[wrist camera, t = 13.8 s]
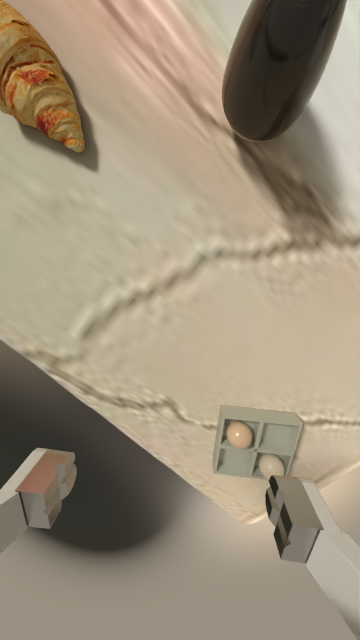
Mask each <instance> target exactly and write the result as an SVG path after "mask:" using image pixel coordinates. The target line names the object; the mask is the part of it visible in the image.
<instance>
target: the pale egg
mask: <svg viewBox="0 0 360 640" xmlns="http://www.w3.org/2000/svg"><path fill="white" fill-rule="evenodd" d="M259 470H260V472H261V474H262V475H263V477H264V478H265V479H267V480H268V481H269V479H270V476H272V475H278V476H284V466H283V463H282V461H281V460H280V459H279V458H278V457H277V456H276V455H274V454H269V453H266V454H264V455H262V456H261V457H260V459H259Z"/></svg>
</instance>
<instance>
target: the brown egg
mask: <svg viewBox="0 0 360 640" xmlns="http://www.w3.org/2000/svg"><path fill="white" fill-rule="evenodd" d="M226 435H227V439H228V441H229V443H230V444H231V445H232V446H233V447H234V448H236V449H246V448H247V447H248V446H249V445H250V444H251V442H252V433H251V430H250V428H249V427H248V426H247V425H246V424H245V423H243V422H241V421H235V422H232V423H231V424H230V425H229V426H228V428H227V432H226Z"/></svg>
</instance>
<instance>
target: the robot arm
mask: <svg viewBox="0 0 360 640" xmlns="http://www.w3.org/2000/svg"><path fill="white" fill-rule="evenodd" d="M74 460H75V455H74V453H72V452H64V451H57V450H50V449H43V448H37V449H36V450H34V451H33V452H32V453H31V454H30V455H29V457H28V458H27V459H26V460H25V462H24V463H23V464H22V465H21V466H20V468H19V469H18V470H17V471H16V472H15V473H14V475H13V476H12V477H11V478H10V479H9V480H8V482H7V483H6V484H5V485H4V486H3V488H2V489H1V490H0V553H1V552H3V551H4V550H5V549H6V548H7V547H8V546H9V545H10V544H11V543H12V542H13V541H14V540H15V539H16V538H17V537H18V536H20V535H21V534H22V533H23V532H24V531H25V530H26V529H27V526H29V527H39V528H51V526H52V524H53V522H54V520H55V519H56V517H57V515H58V513H59V511H60V509H61V508H62V504H61V500H62V499H63V498H64V497H66V496H67V495H68V494H69V492H70V490H71V489H72V486H73V484H74V481H75V478H76V466H75V465H74V464H73V461H74ZM269 483H270V487H269V488H268V489H267V490H266V495H265V498H266V508H267V513H268V517H269V519H270V520H271V522H272V523H273V525H274V526H275V527H276V528H275V531H274V538H275V541H276V544H277V548H278V551H279V555H280V558H281V559H282V560H288V561H294V562H300V563H306V566H307V568H308V569H309V570H310V572H311V573H312V575H313V576H314V578H315V579H316V581H317V582H318V583H319V585H320V586H321V588H322V589H323V591H324V592H325V593H326V595H327V596H328V598H329V599H330V600H331V602H332V604H333V605H334V606H335V608H336V609H337V611H338V612H339V613H340V615H341V616H342V618H343V619H344V621H345V622H346V624H347V625H348V626H349V628H350V629H351V631H352V632H353V634H354V635H355V637H356V638H357V639H358V640H360V547H359V546H358V545H357V544H356V543H355V542H354V541H353V540H352V539H351V538H350V537H349V536H348V535H347V534H346V533H343V532H341V531H340V529H339V527H338V525H337V524H336V522H335V520H334V518H333V516H332V514H331V513H330V511H329V509H328V507H327V505H326V503H325V502H324V500H323V498H322V496H321V494H320V492H319V490H318V488H317V487H316V485H315V483H314V482H313V481H312V480H311V479H304V478H297V477H288V476H278V475H272V476H270V479H269Z"/></svg>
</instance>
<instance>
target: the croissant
mask: <svg viewBox="0 0 360 640" xmlns="http://www.w3.org/2000/svg"><path fill="white" fill-rule="evenodd" d="M0 110H1V111H2V112H4V113H6V114H10V115H13V116H14V117H15V118H16V119H18V120H19V121H20V122H21V123H22V124H23V125H30V126H32V127H34V128H38V129H39V130H41V131H42V132H43V133H44V134H45V135H47V136H48V137H49V138H52V139H55V140H57V141H62V142H63V144H64V145H65V146H66V147H68V148H70V149H72V150H74V151H75V152H82V151H84V147H85V141H84V134H83V132H82V128H81V119H80V115H79V112H78V110H77V106H76V101H75V99H74V96H73V93H72V91H71V89H70V87H69V86H68V84H67V81H66V79H65V77H64V75H63V68H62V65H61V63H60V61H59V59H58V58H57V56H56V55H55V53H54V52H53V51H52V50H51V48H50V47H49V45H48V44H47V43H46V41H45V40H44V39H43V37H42V36H41V35H40V34H39V33H38V31H37V30H36V29H35V28H34V27H33V26H32V25H31V24H30V23H29V22H28V21H27V20H26V19H25V18H24V17H23V16H22V15H21V14H20V13H19V12H18V11H17V10H16V9H14V8H13V7H11V6H10V5H9V4H8V3H6V2H5V1H3V0H0Z"/></svg>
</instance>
